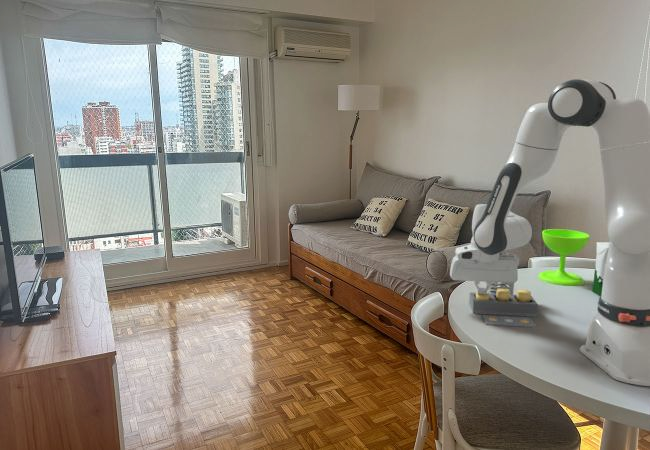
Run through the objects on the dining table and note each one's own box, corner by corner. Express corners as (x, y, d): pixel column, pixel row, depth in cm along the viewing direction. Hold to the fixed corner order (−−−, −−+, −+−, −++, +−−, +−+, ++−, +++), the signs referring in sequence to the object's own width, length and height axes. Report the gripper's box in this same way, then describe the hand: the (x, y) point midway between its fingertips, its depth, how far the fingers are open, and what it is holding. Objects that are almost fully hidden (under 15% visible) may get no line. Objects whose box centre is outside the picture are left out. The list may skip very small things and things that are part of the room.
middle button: (510, 302, 141) (511, 293, 141) (497, 301, 142) (498, 292, 141) (507, 297, 145) (508, 288, 145) (494, 297, 146) (495, 288, 145)
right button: (531, 303, 140) (532, 294, 140) (518, 302, 141) (518, 293, 140) (528, 298, 144) (528, 289, 144) (514, 298, 145) (515, 289, 144)
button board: (545, 327, 131) (546, 315, 130) (477, 324, 134) (478, 311, 133) (529, 307, 147) (530, 295, 146) (469, 303, 150) (469, 292, 149)
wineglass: (580, 275, 179) (585, 230, 176) (588, 287, 164) (593, 239, 161) (536, 271, 184) (540, 228, 181) (539, 283, 170) (544, 236, 166)
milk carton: (600, 299, 153) (607, 241, 149) (587, 289, 162) (594, 235, 158) (627, 299, 153) (635, 242, 149) (613, 290, 161) (620, 236, 157)
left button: (489, 305, 143) (490, 296, 142) (476, 305, 143) (477, 296, 143) (487, 301, 147) (487, 292, 146) (474, 300, 147) (475, 291, 147)
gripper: (517, 250, 143) (513, 292, 146) (450, 248, 146) (448, 288, 149) (522, 256, 137) (518, 299, 140) (453, 253, 140) (450, 295, 143)
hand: (481, 294), depth 144 cm, fingers closed
